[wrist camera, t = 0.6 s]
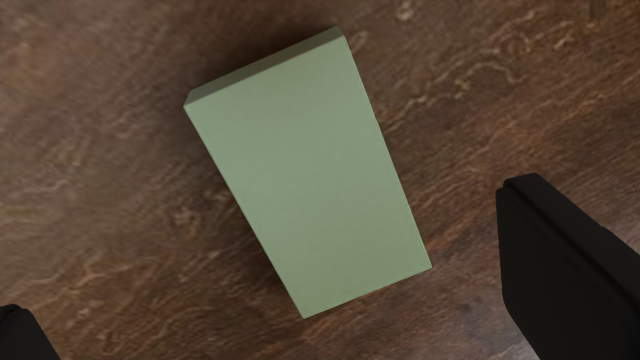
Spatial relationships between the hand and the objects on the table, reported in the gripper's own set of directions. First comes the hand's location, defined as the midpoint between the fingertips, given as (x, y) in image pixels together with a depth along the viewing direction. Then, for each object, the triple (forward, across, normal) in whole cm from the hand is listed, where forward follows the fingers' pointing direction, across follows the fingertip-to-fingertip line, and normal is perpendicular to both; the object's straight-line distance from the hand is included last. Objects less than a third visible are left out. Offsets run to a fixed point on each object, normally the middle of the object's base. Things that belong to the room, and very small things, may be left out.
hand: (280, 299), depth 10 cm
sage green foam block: (+15, -1, +5) cm, 16 cm away
